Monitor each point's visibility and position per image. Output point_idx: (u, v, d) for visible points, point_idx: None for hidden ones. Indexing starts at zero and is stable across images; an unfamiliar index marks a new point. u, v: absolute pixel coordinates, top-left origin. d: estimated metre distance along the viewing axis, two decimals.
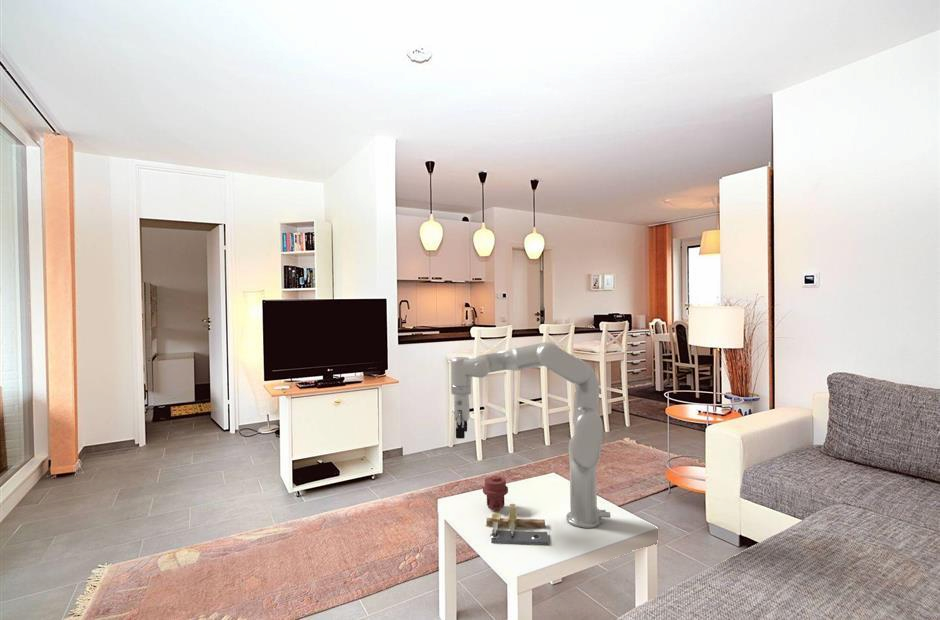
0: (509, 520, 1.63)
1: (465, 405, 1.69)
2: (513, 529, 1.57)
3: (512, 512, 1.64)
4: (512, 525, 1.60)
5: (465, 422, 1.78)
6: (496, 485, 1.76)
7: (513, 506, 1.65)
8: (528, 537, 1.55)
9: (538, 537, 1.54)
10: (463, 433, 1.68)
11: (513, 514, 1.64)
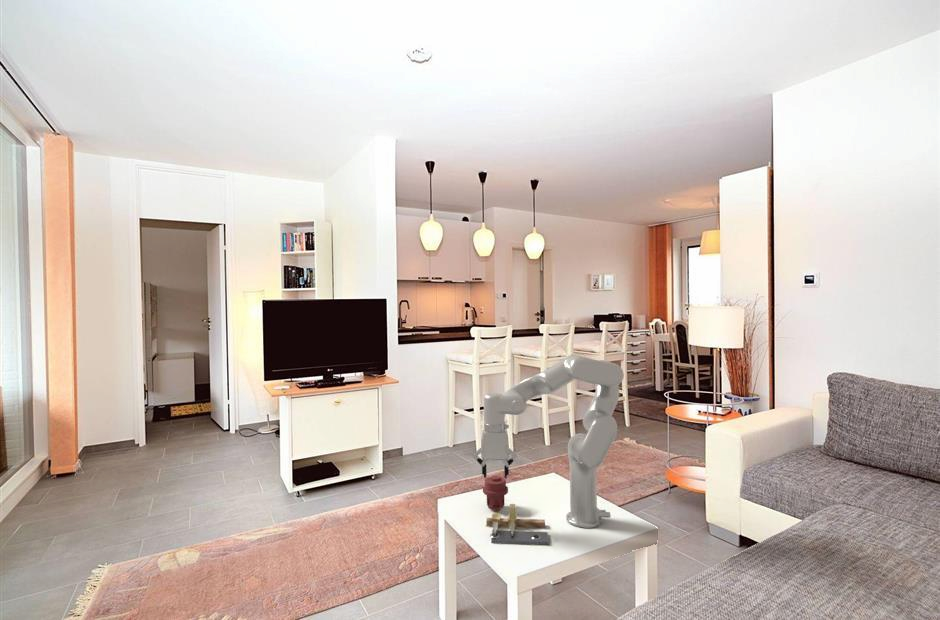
0: (509, 520, 1.63)
1: None
2: (513, 529, 1.57)
3: (512, 512, 1.64)
4: (512, 525, 1.60)
5: None
6: (496, 485, 1.76)
7: (513, 506, 1.65)
8: (528, 537, 1.55)
9: (538, 537, 1.54)
10: None
11: (513, 514, 1.64)
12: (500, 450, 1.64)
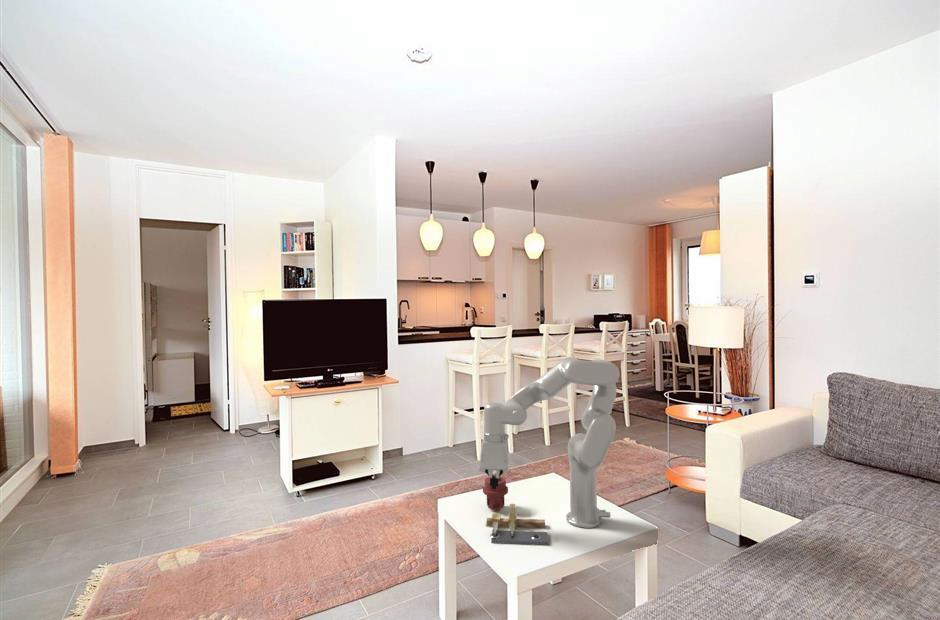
0: (509, 520, 1.63)
1: None
2: (513, 529, 1.57)
3: (512, 512, 1.64)
4: (512, 525, 1.60)
5: None
6: None
7: (513, 506, 1.65)
8: (528, 537, 1.55)
9: (538, 537, 1.54)
10: None
11: (513, 514, 1.64)
12: (499, 460, 1.64)
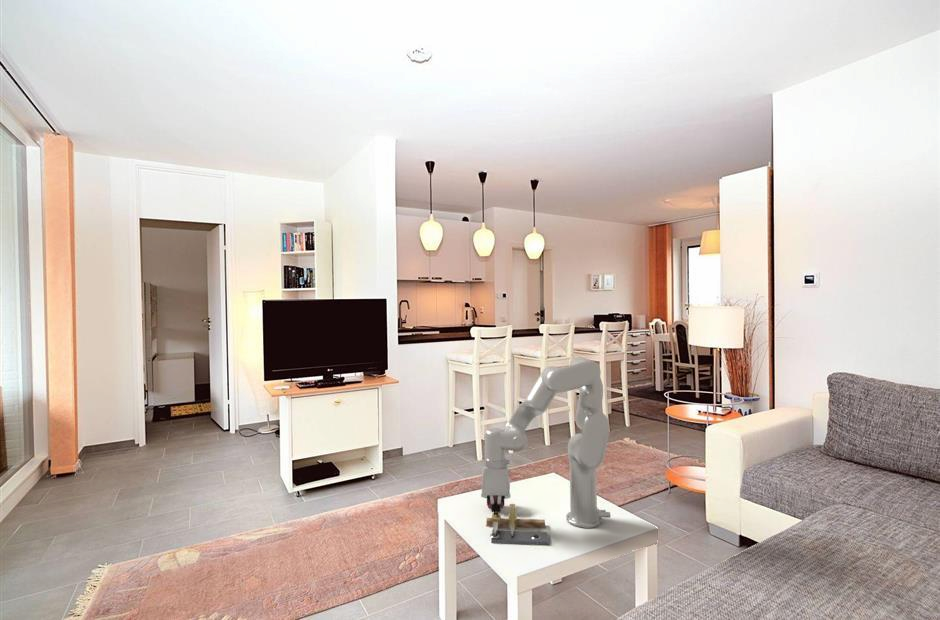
0: (509, 520, 1.63)
1: None
2: (513, 529, 1.57)
3: (512, 512, 1.64)
4: (512, 525, 1.60)
5: None
6: None
7: (513, 506, 1.65)
8: (528, 537, 1.55)
9: (538, 537, 1.54)
10: None
11: (513, 514, 1.64)
12: (501, 486, 1.64)
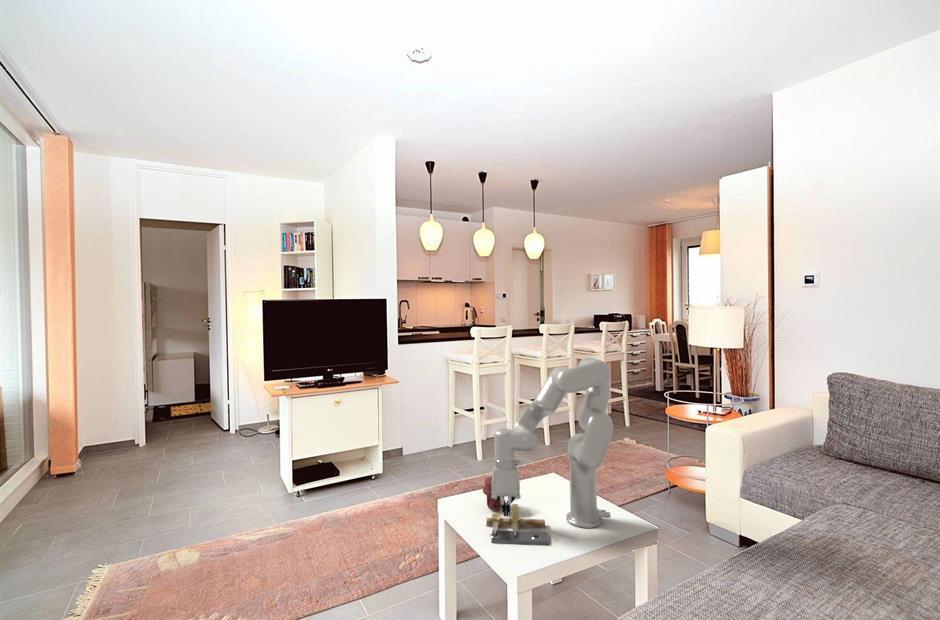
0: (512, 520, 1.63)
1: None
2: (516, 529, 1.57)
3: (514, 512, 1.64)
4: (515, 525, 1.60)
5: None
6: None
7: (516, 506, 1.65)
8: (528, 537, 1.55)
9: (538, 537, 1.54)
10: None
11: (516, 514, 1.64)
12: (511, 487, 1.63)
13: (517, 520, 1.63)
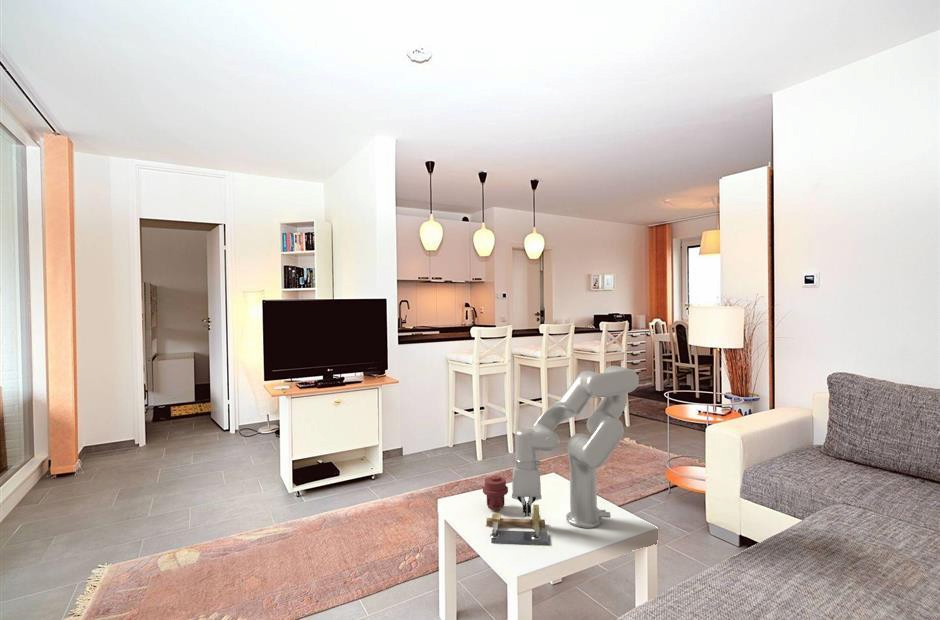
0: (533, 521, 1.62)
1: None
2: (538, 530, 1.57)
3: (535, 513, 1.63)
4: (536, 526, 1.59)
5: None
6: (496, 485, 1.76)
7: (537, 507, 1.64)
8: (528, 537, 1.55)
9: (538, 537, 1.54)
10: None
11: (537, 515, 1.63)
12: (532, 487, 1.62)
13: (538, 521, 1.62)
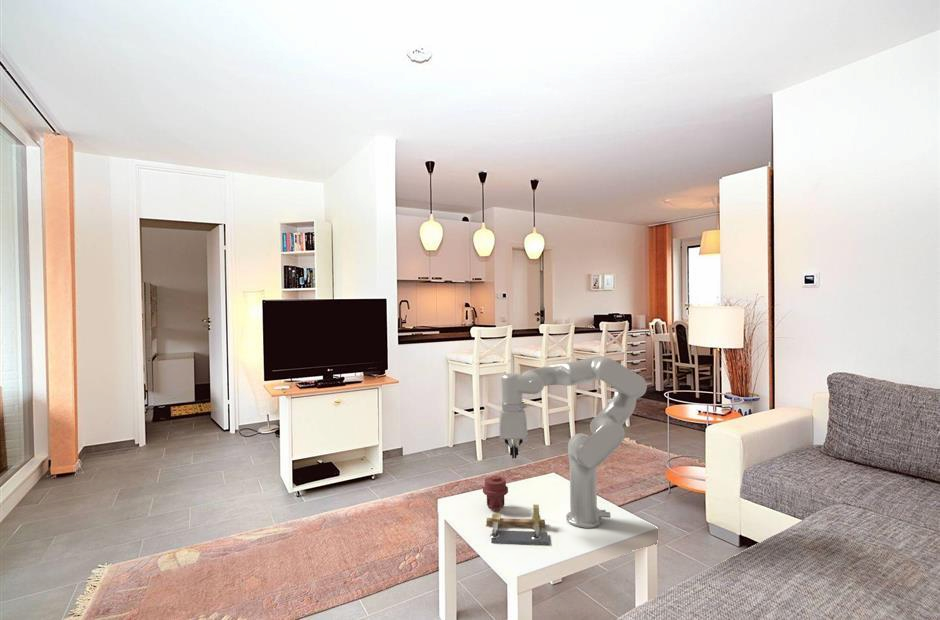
0: (533, 521, 1.62)
1: None
2: (538, 530, 1.57)
3: (535, 513, 1.63)
4: (536, 526, 1.59)
5: None
6: (496, 485, 1.76)
7: (537, 507, 1.64)
8: (528, 537, 1.55)
9: (538, 537, 1.54)
10: None
11: (537, 515, 1.63)
12: (519, 429, 1.65)
13: (538, 521, 1.62)
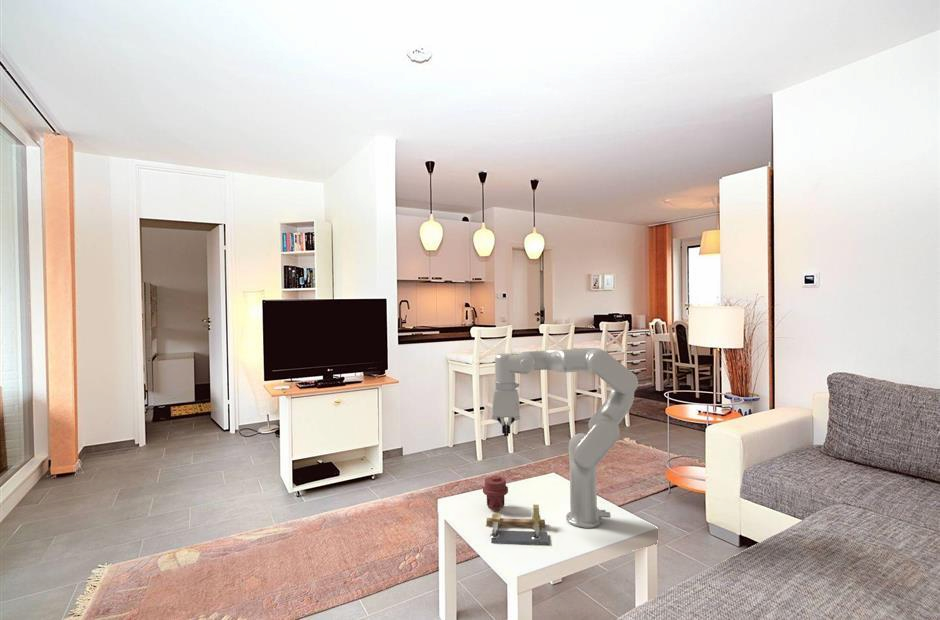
0: (533, 521, 1.62)
1: None
2: (538, 530, 1.57)
3: (535, 513, 1.63)
4: (536, 526, 1.59)
5: None
6: (496, 485, 1.76)
7: (537, 507, 1.64)
8: (528, 537, 1.55)
9: (538, 537, 1.54)
10: None
11: (537, 515, 1.63)
12: (511, 407, 1.69)
13: (538, 521, 1.62)
